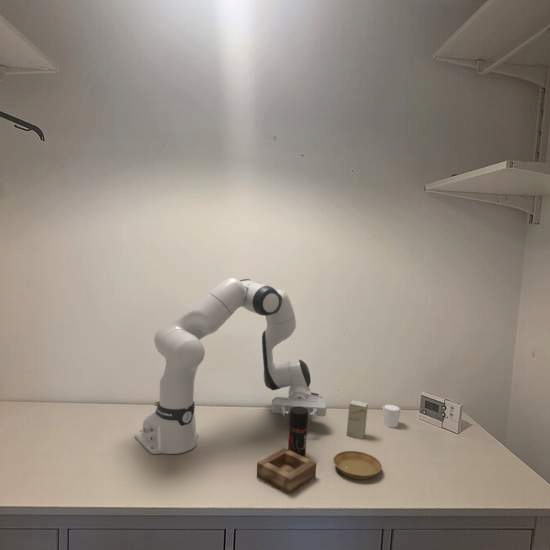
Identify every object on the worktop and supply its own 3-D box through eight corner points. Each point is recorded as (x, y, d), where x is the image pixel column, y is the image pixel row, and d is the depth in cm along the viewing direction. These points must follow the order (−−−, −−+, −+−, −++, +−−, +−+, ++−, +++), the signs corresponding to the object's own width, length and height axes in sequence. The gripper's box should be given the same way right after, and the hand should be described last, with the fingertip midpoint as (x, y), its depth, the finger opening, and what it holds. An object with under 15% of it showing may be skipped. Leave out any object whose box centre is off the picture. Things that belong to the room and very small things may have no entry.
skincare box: (346, 435, 157) (348, 403, 156) (349, 430, 161) (351, 399, 160) (363, 439, 154) (365, 406, 153) (365, 434, 159) (368, 402, 157)
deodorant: (304, 460, 138) (307, 415, 137) (286, 457, 139) (288, 412, 138) (306, 451, 144) (309, 407, 142) (289, 448, 145) (291, 405, 144)
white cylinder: (401, 424, 169) (402, 406, 169) (396, 430, 164) (397, 412, 163) (384, 419, 173) (385, 402, 172) (378, 425, 167) (380, 407, 167)
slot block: (256, 476, 127) (257, 462, 126) (283, 461, 136) (283, 447, 136) (289, 494, 119) (290, 479, 119) (315, 477, 128) (316, 462, 128)
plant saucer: (324, 471, 132) (324, 463, 132) (345, 453, 144) (346, 446, 144) (369, 489, 124) (370, 481, 124) (387, 468, 136) (388, 460, 136)
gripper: (272, 390, 167) (270, 404, 153) (325, 394, 165) (327, 409, 152) (272, 406, 167) (269, 421, 154) (324, 410, 166) (326, 426, 152)
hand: (298, 415), depth 153 cm, fingers open, 8 cm apart
